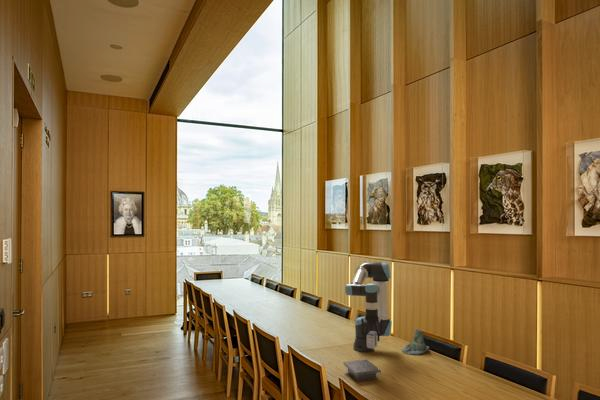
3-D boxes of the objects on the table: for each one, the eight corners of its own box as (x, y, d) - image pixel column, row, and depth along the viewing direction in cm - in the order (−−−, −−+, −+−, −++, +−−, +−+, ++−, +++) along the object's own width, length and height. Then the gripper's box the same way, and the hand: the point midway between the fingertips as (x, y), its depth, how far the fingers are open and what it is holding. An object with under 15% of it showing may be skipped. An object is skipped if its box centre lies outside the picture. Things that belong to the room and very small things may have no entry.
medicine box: (370, 344, 267) (370, 330, 267) (377, 345, 265) (377, 331, 266) (367, 348, 260) (366, 333, 260) (374, 348, 258) (373, 334, 258)
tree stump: (395, 349, 312) (399, 325, 316) (418, 353, 318) (421, 329, 321) (409, 355, 295) (413, 329, 298) (433, 359, 301) (437, 334, 304)
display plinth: (343, 371, 266) (343, 361, 267) (366, 368, 271) (366, 359, 271) (356, 383, 247) (356, 372, 247) (380, 380, 251) (380, 369, 252)
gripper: (356, 309, 262) (357, 347, 260) (386, 310, 258) (387, 348, 257) (357, 307, 269) (357, 343, 268) (386, 307, 266) (387, 345, 264)
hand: (372, 346), depth 262 cm, fingers closed on medicine box, 5 cm apart
